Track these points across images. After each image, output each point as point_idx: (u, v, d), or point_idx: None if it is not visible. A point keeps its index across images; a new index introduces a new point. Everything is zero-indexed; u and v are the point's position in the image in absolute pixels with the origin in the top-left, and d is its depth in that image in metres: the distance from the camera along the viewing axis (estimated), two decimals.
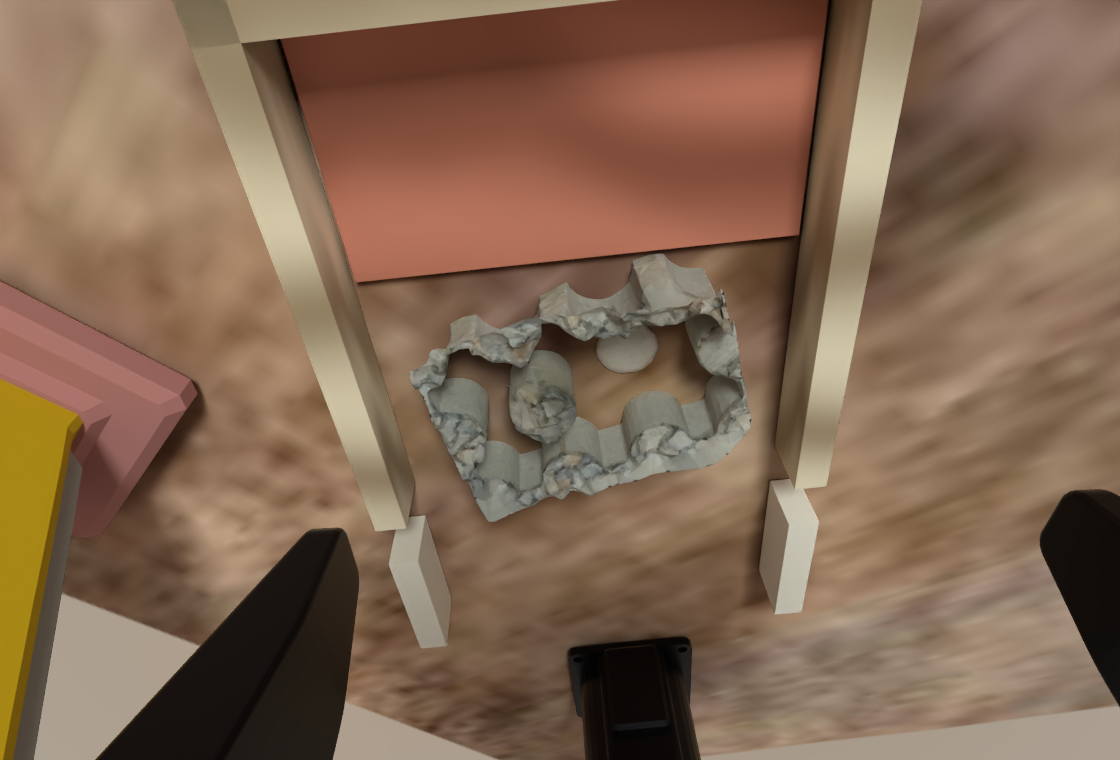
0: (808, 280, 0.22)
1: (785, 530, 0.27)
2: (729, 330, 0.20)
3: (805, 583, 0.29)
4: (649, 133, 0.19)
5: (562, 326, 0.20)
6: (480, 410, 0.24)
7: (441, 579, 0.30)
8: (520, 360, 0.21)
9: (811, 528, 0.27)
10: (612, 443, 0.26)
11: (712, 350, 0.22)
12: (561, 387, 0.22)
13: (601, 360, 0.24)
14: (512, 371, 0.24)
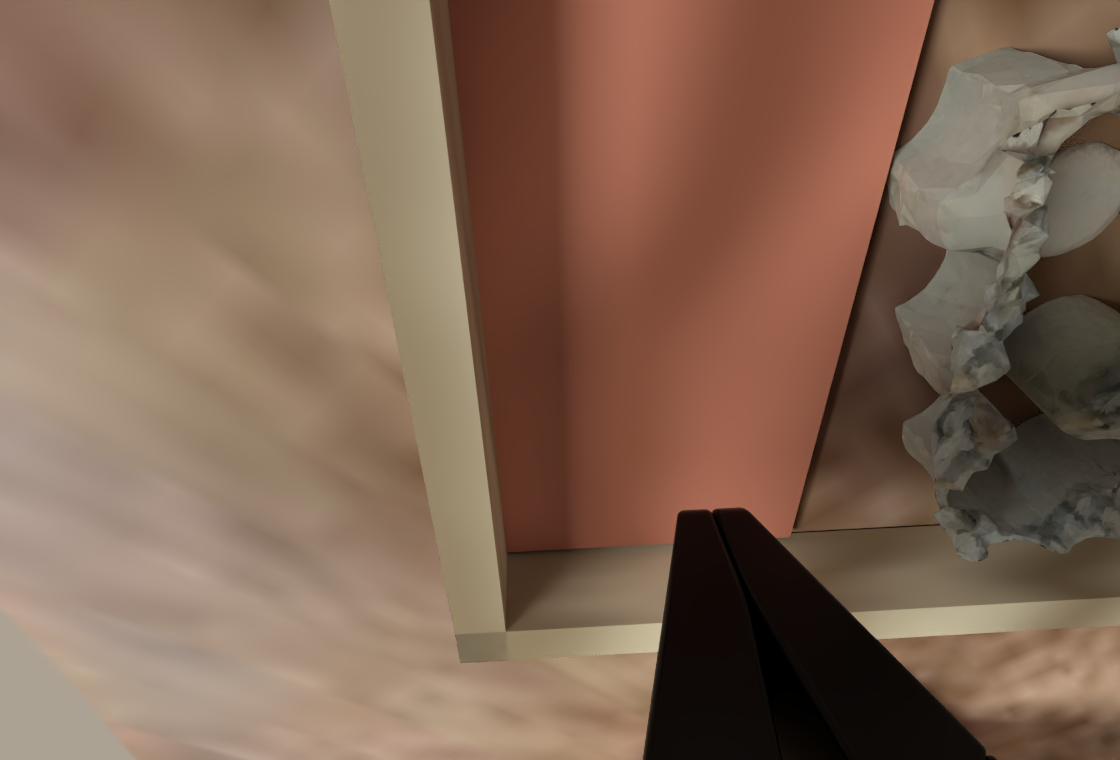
0: None
1: None
2: None
3: None
4: (680, 177, 0.12)
5: None
6: (1072, 457, 0.15)
7: None
8: (1003, 438, 0.13)
9: None
10: None
11: None
12: (1092, 372, 0.12)
13: (1072, 248, 0.13)
14: None
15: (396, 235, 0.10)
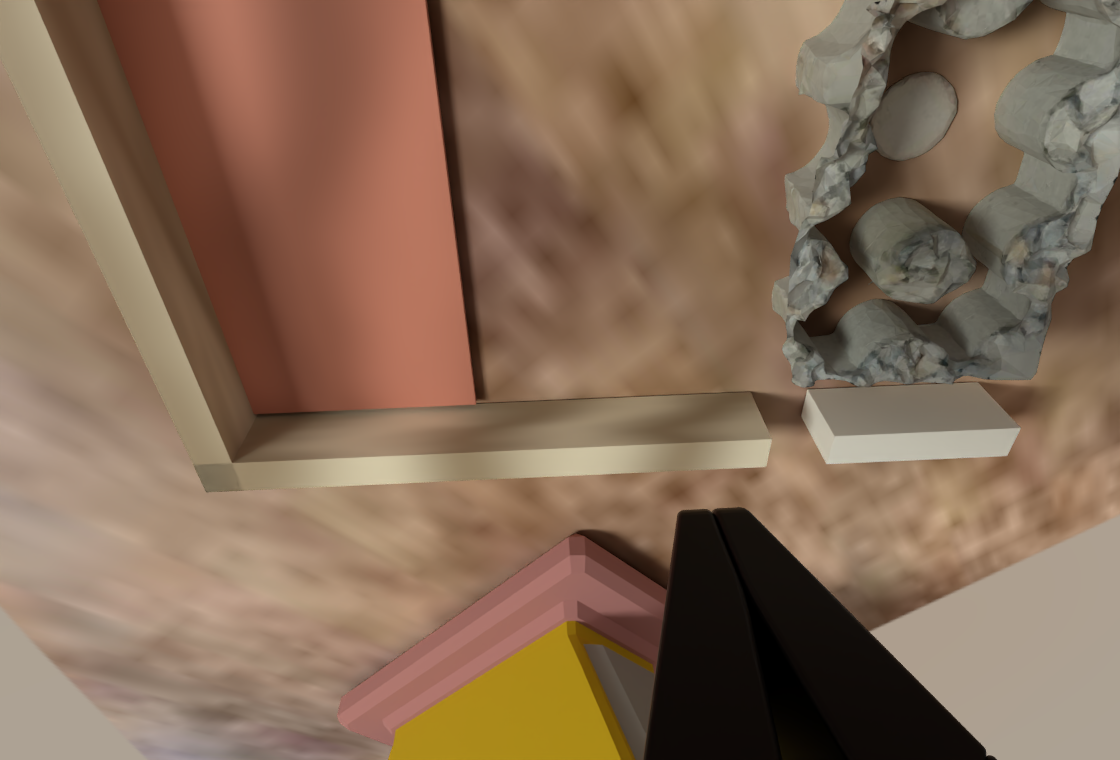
0: None
1: None
2: None
3: None
4: (289, 105, 0.17)
5: (819, 221, 0.17)
6: (885, 324, 0.20)
7: (921, 393, 0.23)
8: (838, 275, 0.18)
9: None
10: (1042, 178, 0.18)
11: (974, 12, 0.15)
12: (905, 237, 0.17)
13: (910, 156, 0.18)
14: None
15: (50, 134, 0.15)
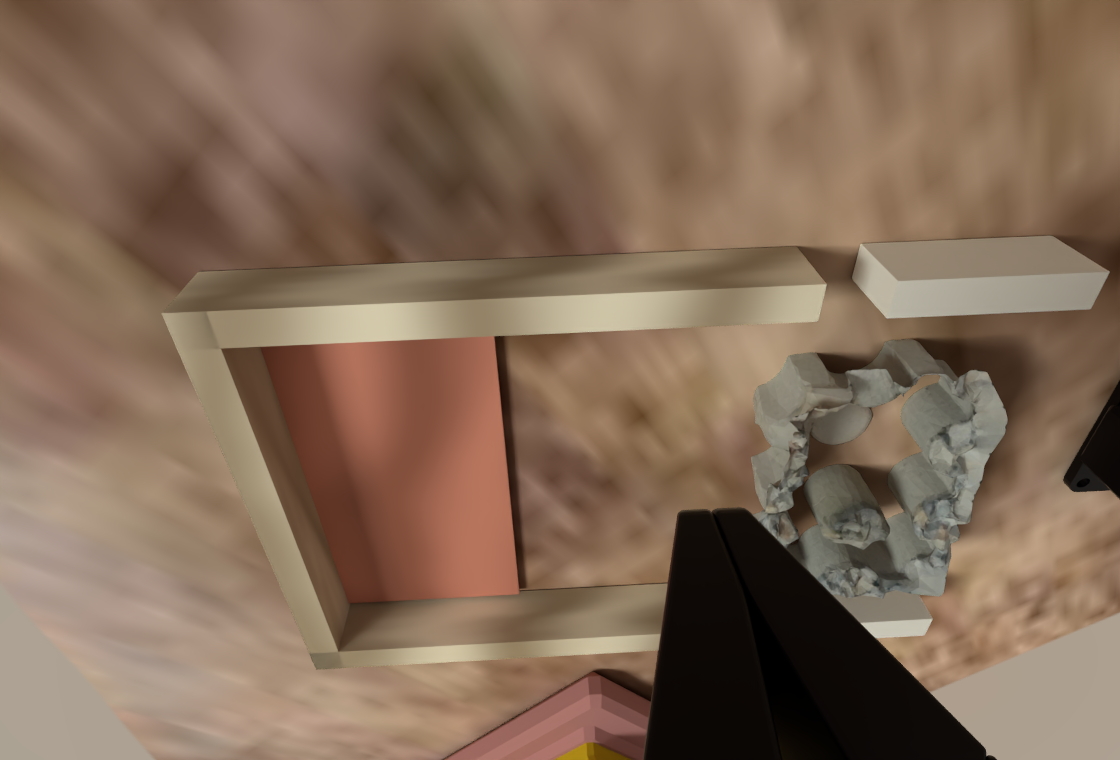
0: None
1: None
2: (842, 406, 0.20)
3: (1036, 276, 0.18)
4: (396, 428, 0.23)
5: None
6: (832, 549, 0.27)
7: None
8: (791, 536, 0.25)
9: (907, 288, 0.18)
10: None
11: (868, 394, 0.21)
12: (837, 510, 0.24)
13: (842, 443, 0.25)
14: None
15: (242, 477, 0.21)
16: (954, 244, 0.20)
